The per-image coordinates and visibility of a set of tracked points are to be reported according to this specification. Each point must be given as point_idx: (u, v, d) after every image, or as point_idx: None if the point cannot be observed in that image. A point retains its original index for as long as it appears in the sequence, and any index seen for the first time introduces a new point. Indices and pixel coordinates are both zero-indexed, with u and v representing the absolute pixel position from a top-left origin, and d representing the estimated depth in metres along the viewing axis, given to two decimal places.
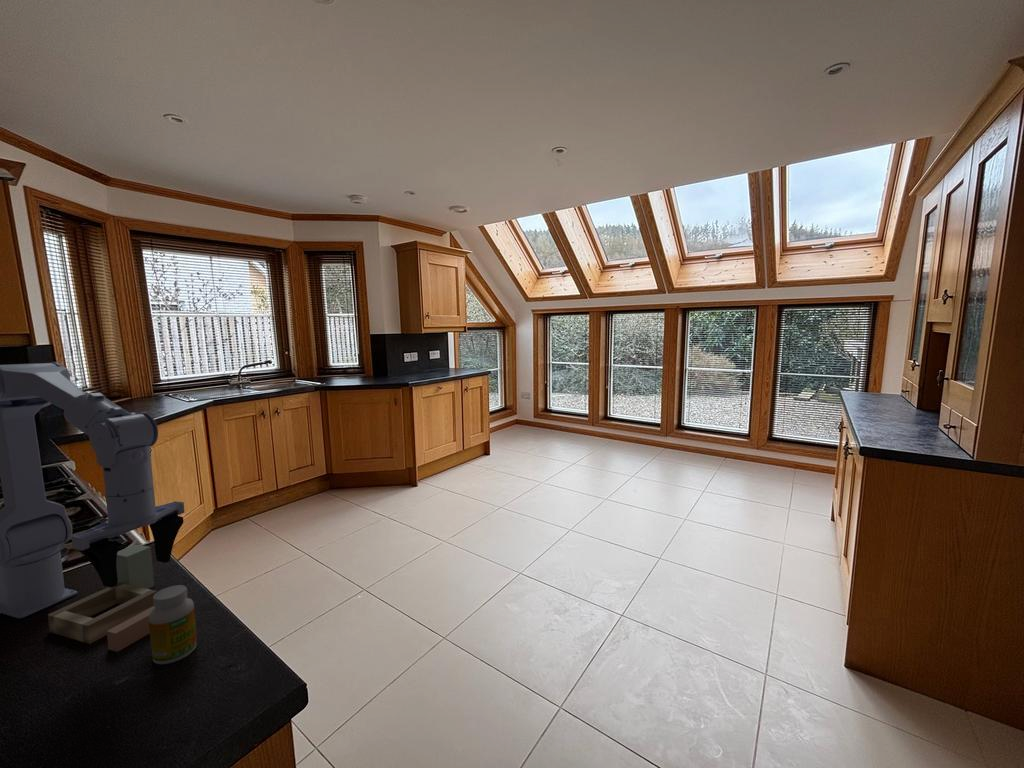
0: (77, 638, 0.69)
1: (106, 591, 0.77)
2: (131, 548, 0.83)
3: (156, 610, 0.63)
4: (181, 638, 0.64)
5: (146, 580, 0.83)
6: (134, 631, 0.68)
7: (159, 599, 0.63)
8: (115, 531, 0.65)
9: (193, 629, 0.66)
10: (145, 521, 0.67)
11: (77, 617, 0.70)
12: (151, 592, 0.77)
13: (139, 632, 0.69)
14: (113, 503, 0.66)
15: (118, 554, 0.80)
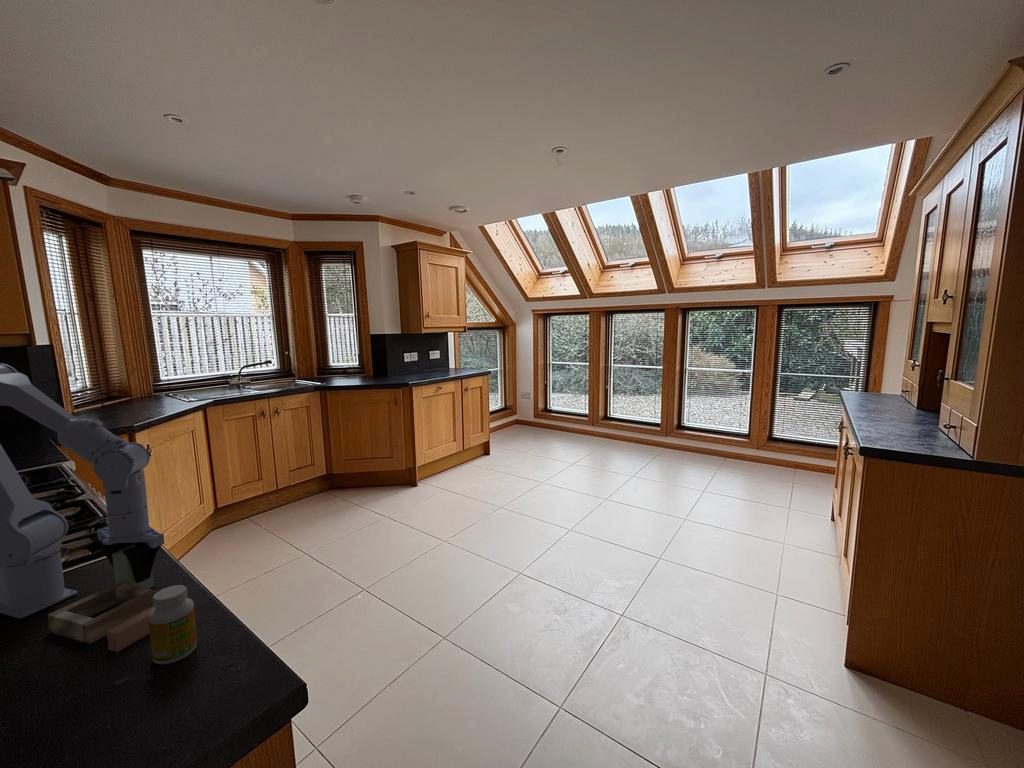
0: (77, 638, 0.69)
1: (106, 591, 0.77)
2: None
3: (156, 610, 0.63)
4: (181, 638, 0.64)
5: (146, 580, 0.83)
6: (134, 631, 0.68)
7: (159, 599, 0.63)
8: (104, 536, 0.81)
9: (193, 629, 0.66)
10: (105, 540, 0.78)
11: (77, 617, 0.70)
12: (151, 592, 0.77)
13: (139, 632, 0.69)
14: None
15: (118, 554, 0.80)
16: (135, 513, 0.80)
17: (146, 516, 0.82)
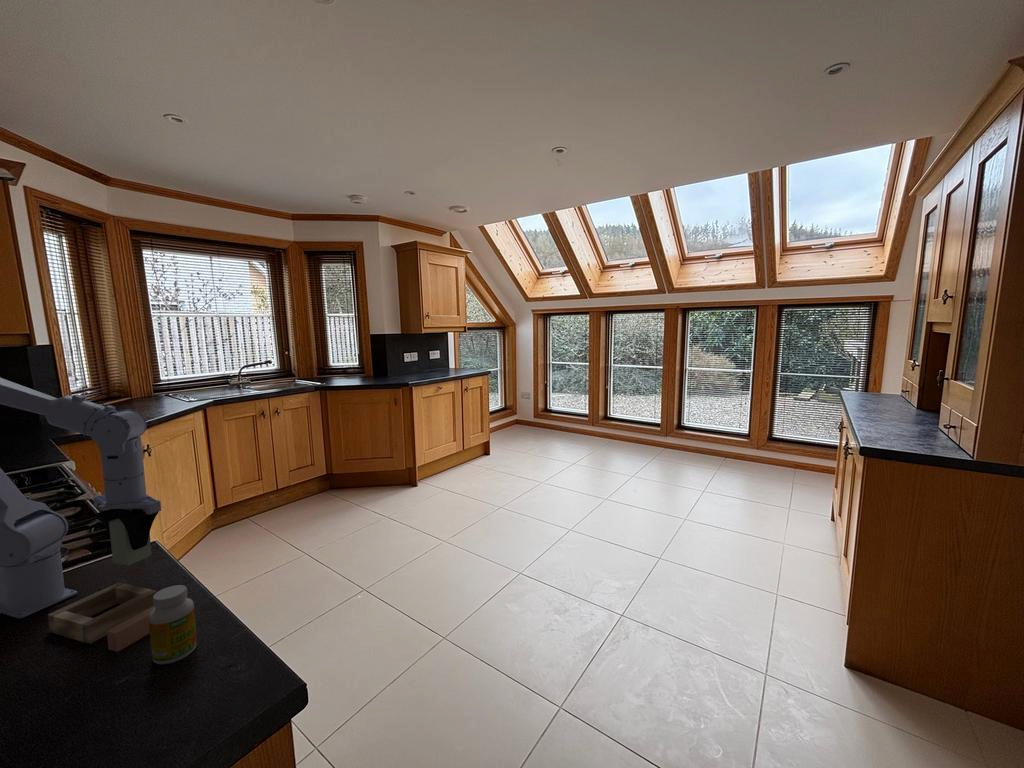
0: (77, 638, 0.69)
1: (106, 591, 0.77)
2: None
3: (156, 610, 0.63)
4: (181, 638, 0.64)
5: (143, 548, 0.82)
6: (134, 631, 0.68)
7: (159, 599, 0.63)
8: (101, 503, 0.80)
9: (193, 629, 0.66)
10: (101, 505, 0.78)
11: (77, 617, 0.70)
12: (151, 592, 0.77)
13: (139, 632, 0.69)
14: None
15: (115, 521, 0.80)
16: (132, 479, 0.79)
17: (143, 483, 0.81)
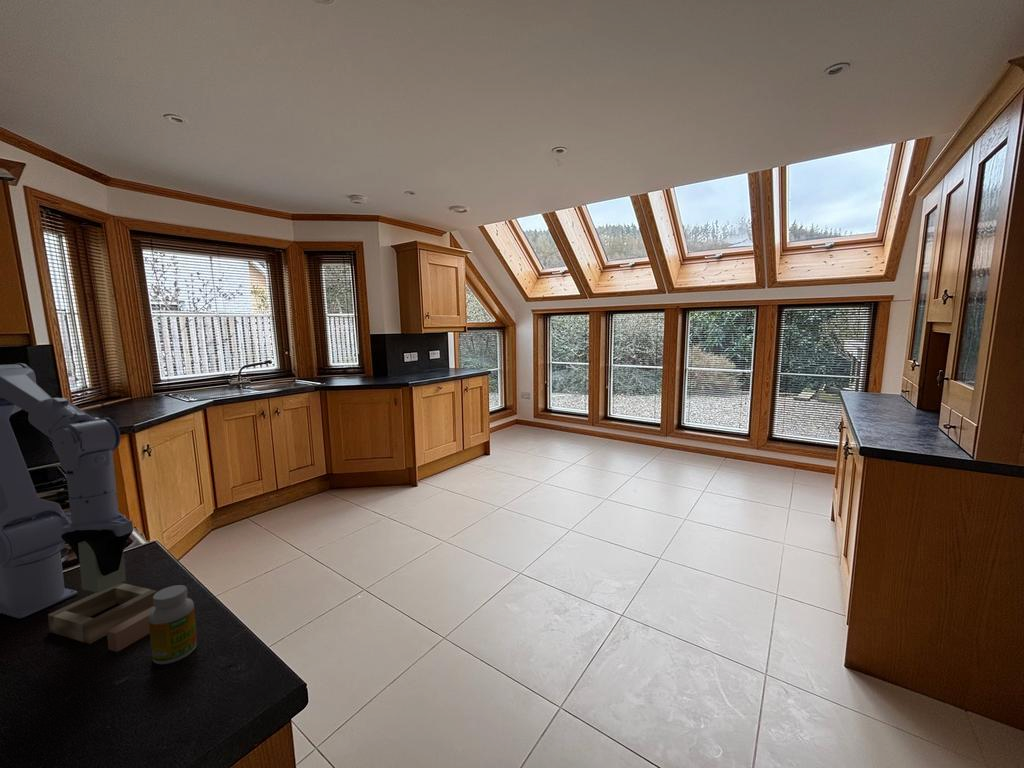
0: (77, 638, 0.69)
1: (106, 591, 0.77)
2: None
3: (156, 610, 0.63)
4: (181, 638, 0.64)
5: (116, 573, 0.74)
6: (134, 631, 0.68)
7: (159, 599, 0.63)
8: (67, 523, 0.72)
9: (193, 629, 0.66)
10: (66, 526, 0.69)
11: (77, 617, 0.70)
12: (151, 592, 0.77)
13: (139, 632, 0.69)
14: None
15: (84, 543, 0.71)
16: (100, 497, 0.71)
17: (114, 500, 0.73)
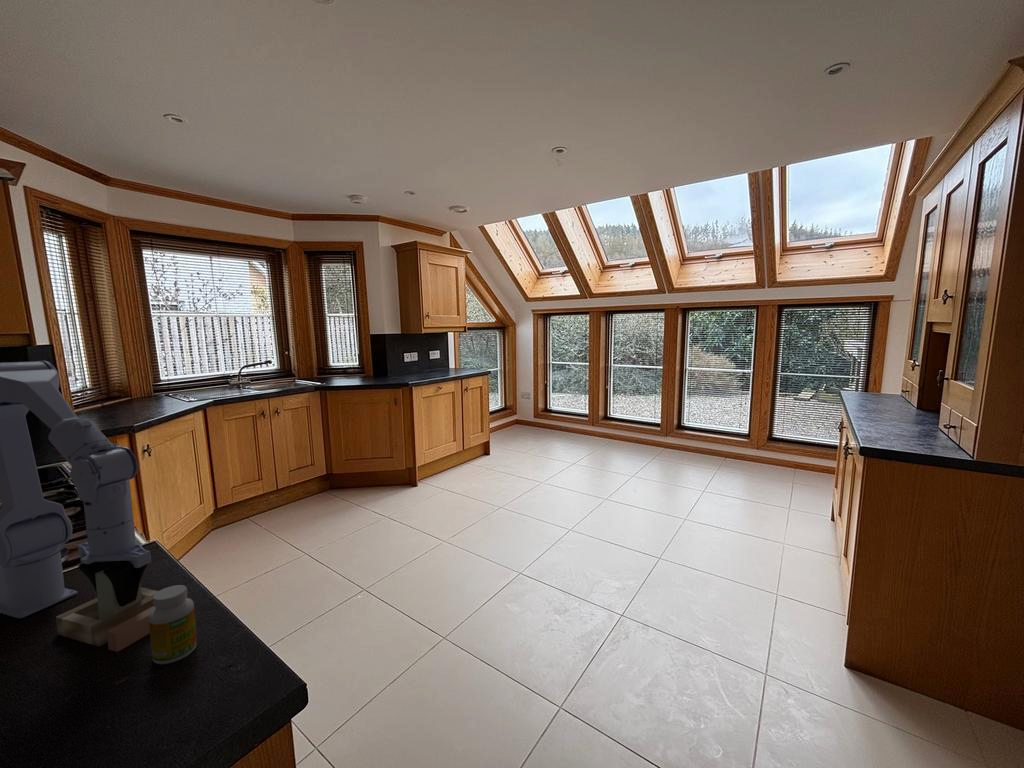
0: (86, 641, 0.68)
1: None
2: None
3: (156, 610, 0.63)
4: (181, 638, 0.64)
5: (133, 603, 0.73)
6: (134, 631, 0.68)
7: (159, 599, 0.63)
8: (85, 553, 0.71)
9: (193, 629, 0.66)
10: (83, 558, 0.68)
11: (85, 619, 0.69)
12: None
13: (139, 632, 0.69)
14: None
15: (102, 574, 0.71)
16: (118, 527, 0.70)
17: (131, 530, 0.72)
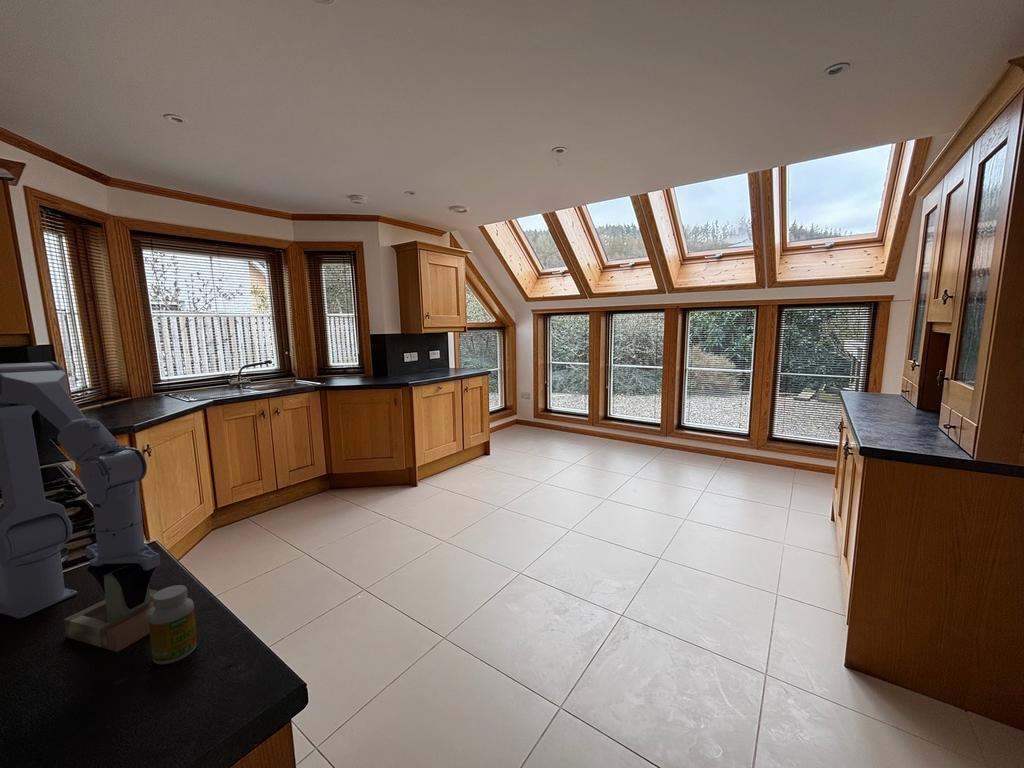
0: (94, 643, 0.67)
1: None
2: None
3: (156, 610, 0.63)
4: (181, 638, 0.64)
5: (142, 605, 0.72)
6: (134, 631, 0.68)
7: (159, 599, 0.63)
8: (93, 555, 0.70)
9: (193, 629, 0.66)
10: (92, 560, 0.68)
11: (94, 622, 0.68)
12: None
13: (139, 632, 0.69)
14: None
15: (110, 576, 0.70)
16: (127, 529, 0.69)
17: (140, 532, 0.72)
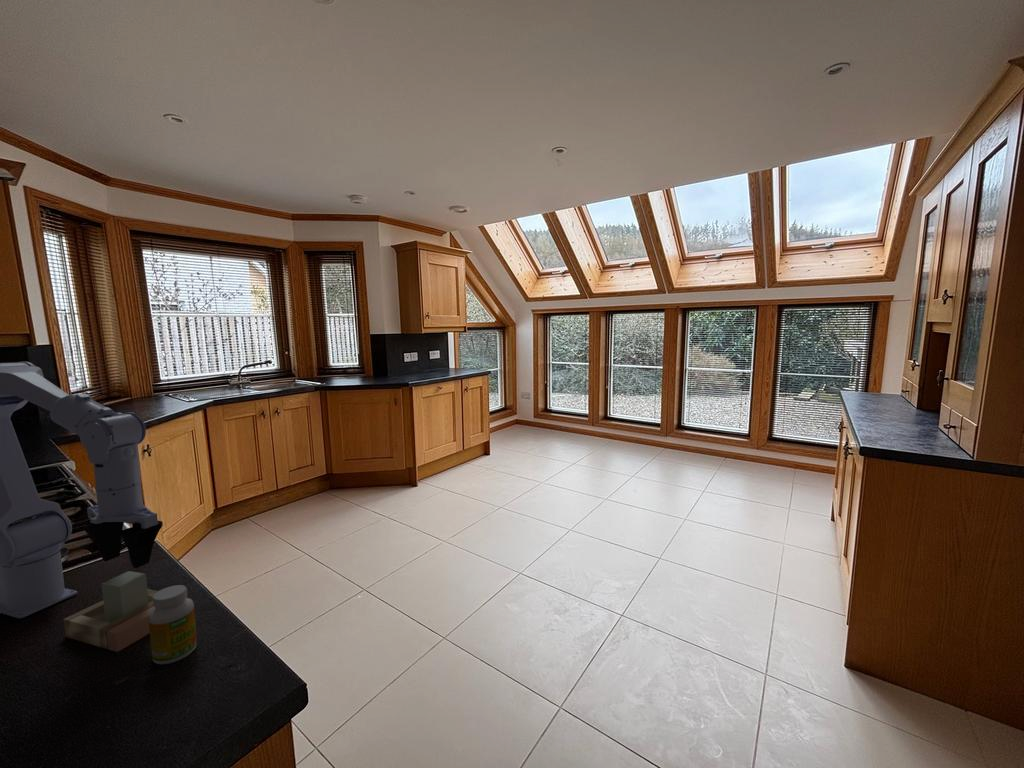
0: (94, 643, 0.67)
1: None
2: (123, 575, 0.73)
3: (156, 610, 0.63)
4: (181, 638, 0.64)
5: None
6: (134, 631, 0.68)
7: (159, 599, 0.63)
8: (94, 515, 0.73)
9: (193, 629, 0.66)
10: (93, 518, 0.71)
11: (94, 622, 0.68)
12: None
13: (139, 632, 0.69)
14: None
15: (109, 584, 0.70)
16: (126, 489, 0.72)
17: (139, 493, 0.74)
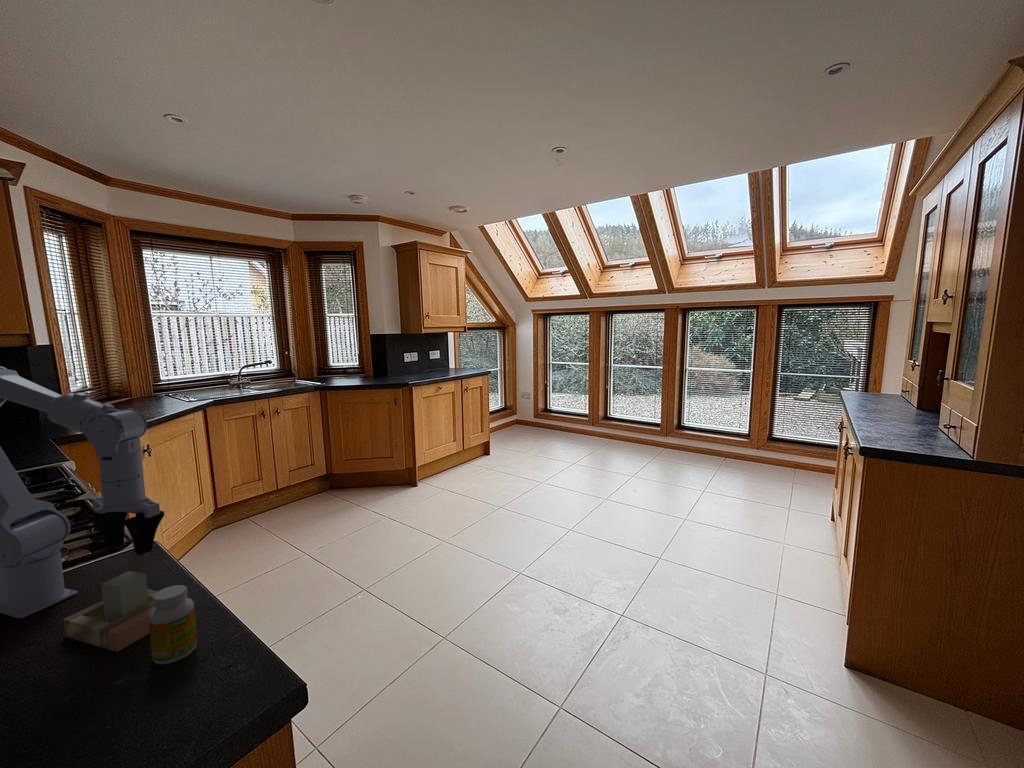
0: (94, 643, 0.67)
1: None
2: (123, 575, 0.73)
3: (156, 610, 0.63)
4: (182, 638, 0.64)
5: None
6: (134, 631, 0.68)
7: (159, 599, 0.63)
8: (99, 506, 0.77)
9: (193, 629, 0.66)
10: (98, 508, 0.75)
11: (94, 622, 0.68)
12: None
13: (139, 632, 0.69)
14: None
15: (109, 584, 0.70)
16: (130, 481, 0.76)
17: (142, 485, 0.79)
